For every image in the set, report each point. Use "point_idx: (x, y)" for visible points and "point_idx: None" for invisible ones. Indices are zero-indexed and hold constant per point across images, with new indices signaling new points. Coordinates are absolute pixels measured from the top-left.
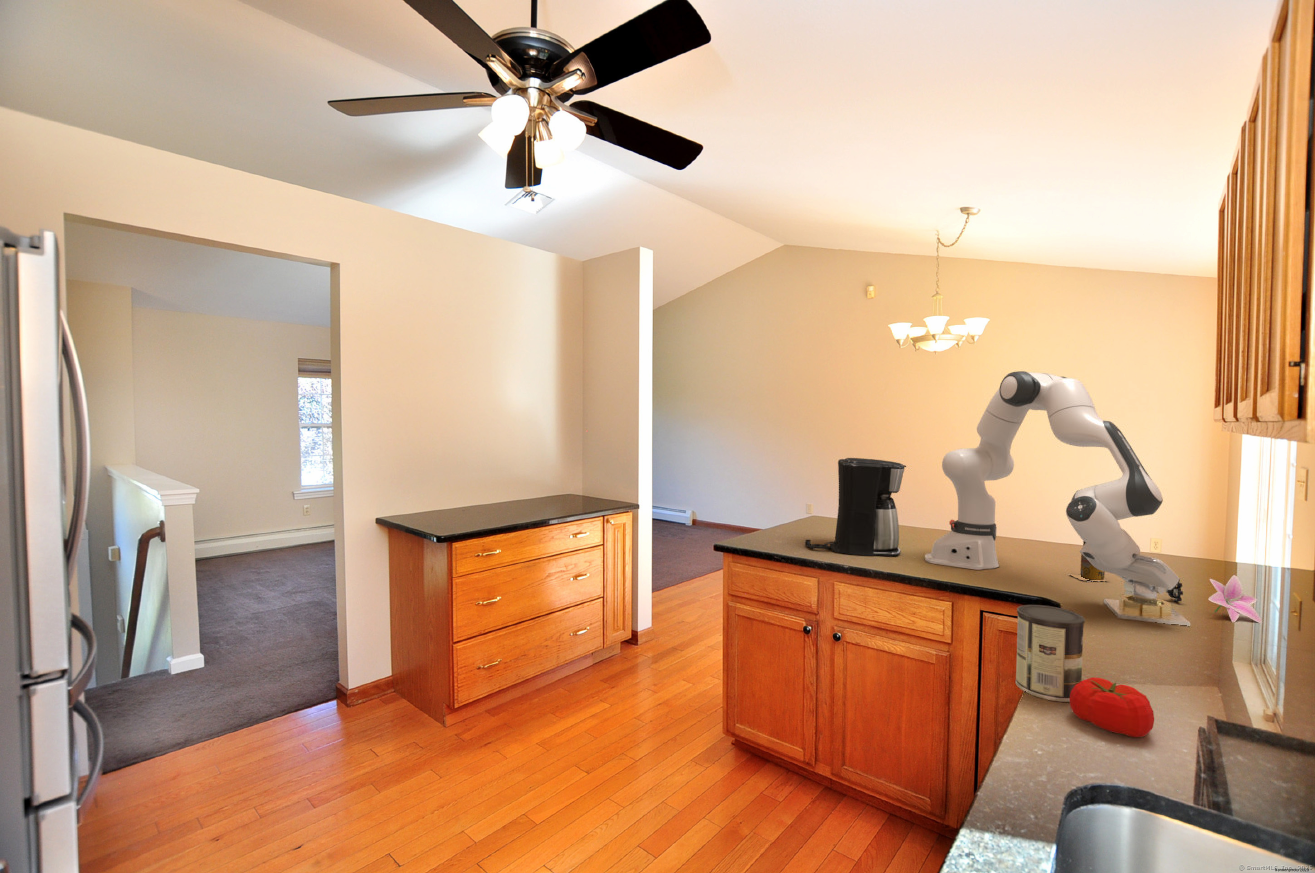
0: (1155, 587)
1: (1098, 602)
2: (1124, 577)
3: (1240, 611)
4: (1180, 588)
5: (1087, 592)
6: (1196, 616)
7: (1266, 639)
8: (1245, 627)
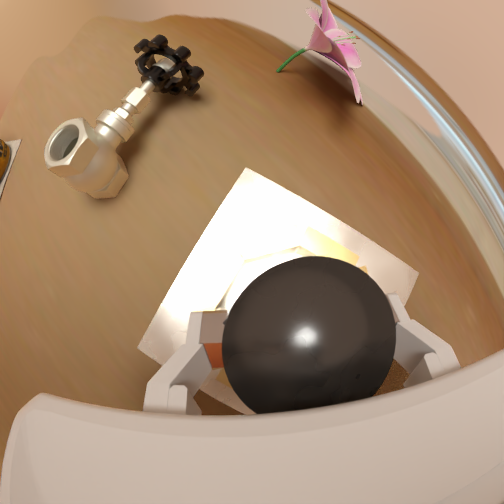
0: (406, 366)
1: (144, 366)
2: (195, 386)
3: (351, 62)
4: (186, 61)
5: (52, 294)
6: (319, 151)
7: (470, 168)
8: (402, 121)
